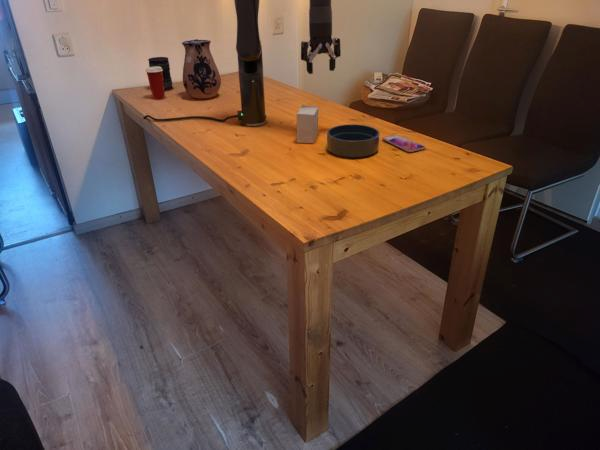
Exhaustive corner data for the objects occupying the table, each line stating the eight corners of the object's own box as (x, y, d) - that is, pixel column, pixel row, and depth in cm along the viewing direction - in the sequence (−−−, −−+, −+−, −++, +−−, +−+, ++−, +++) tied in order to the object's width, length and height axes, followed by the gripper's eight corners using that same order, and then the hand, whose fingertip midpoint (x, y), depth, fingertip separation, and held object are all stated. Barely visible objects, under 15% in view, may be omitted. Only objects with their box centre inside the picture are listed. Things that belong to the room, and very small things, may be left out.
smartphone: (397, 134, 162) (426, 147, 150) (397, 136, 162) (425, 149, 151) (381, 137, 159) (409, 150, 147) (381, 139, 159) (408, 153, 148)
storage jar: (155, 87, 236) (149, 57, 228) (174, 86, 237) (169, 56, 229) (151, 91, 227) (146, 60, 220) (171, 91, 228) (166, 60, 221)
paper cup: (170, 97, 218) (165, 67, 211) (158, 100, 212) (153, 70, 205) (159, 95, 221) (154, 65, 214) (147, 98, 216) (141, 68, 209)
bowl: (332, 160, 144) (333, 143, 141) (322, 142, 159) (322, 126, 156) (384, 157, 146) (386, 139, 143) (370, 139, 161) (371, 122, 158)
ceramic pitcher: (189, 103, 207) (181, 45, 194) (180, 93, 224) (172, 39, 211) (226, 98, 213) (221, 42, 200) (215, 89, 230) (209, 36, 217)
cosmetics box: (314, 143, 158) (314, 114, 153) (296, 143, 159) (295, 113, 154) (318, 134, 167) (318, 105, 161) (301, 133, 168) (301, 105, 162)
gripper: (333, 18, 154) (333, 68, 161) (296, 21, 148) (297, 72, 156) (345, 19, 148) (344, 71, 156) (307, 23, 142) (308, 76, 150)
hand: (321, 72), depth 156 cm, fingers open, 8 cm apart
